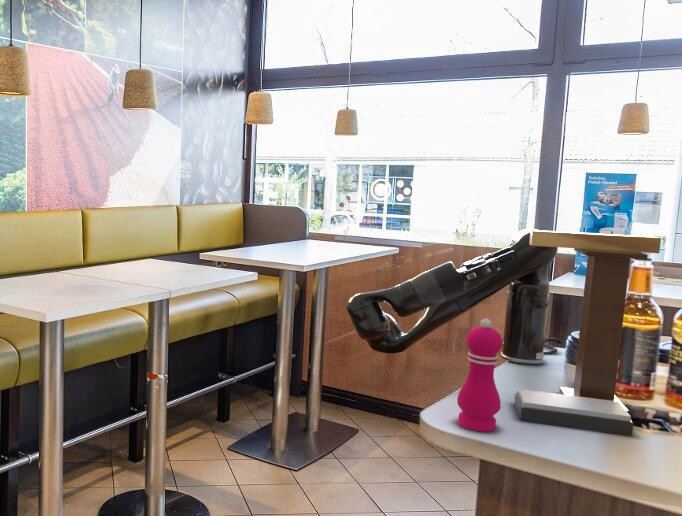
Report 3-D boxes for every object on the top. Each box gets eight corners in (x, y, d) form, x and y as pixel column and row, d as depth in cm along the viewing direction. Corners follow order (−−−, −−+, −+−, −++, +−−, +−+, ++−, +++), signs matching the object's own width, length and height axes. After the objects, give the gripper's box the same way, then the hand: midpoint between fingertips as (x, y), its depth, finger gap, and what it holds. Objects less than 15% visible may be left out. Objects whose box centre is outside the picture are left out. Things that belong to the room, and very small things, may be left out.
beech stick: (529, 244, 145) (530, 229, 144) (654, 252, 137) (656, 236, 137) (531, 245, 142) (532, 230, 142) (659, 253, 134) (661, 238, 134)
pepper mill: (461, 415, 133) (471, 313, 131) (502, 425, 128) (513, 319, 126) (450, 425, 127) (459, 318, 125) (492, 436, 123) (503, 325, 121)
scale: (514, 404, 141) (515, 387, 140) (617, 418, 135) (619, 401, 134) (520, 420, 132) (522, 402, 131) (632, 436, 125) (634, 417, 125)
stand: (558, 393, 149) (574, 245, 146) (613, 400, 146) (630, 248, 142) (569, 410, 138) (586, 250, 135) (628, 418, 135) (647, 254, 131)
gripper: (445, 296, 157) (518, 265, 151) (447, 306, 144) (527, 273, 138) (429, 266, 157) (502, 234, 151) (430, 273, 144) (509, 239, 138)
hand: (513, 253), depth 145 cm, fingers open, 8 cm apart
